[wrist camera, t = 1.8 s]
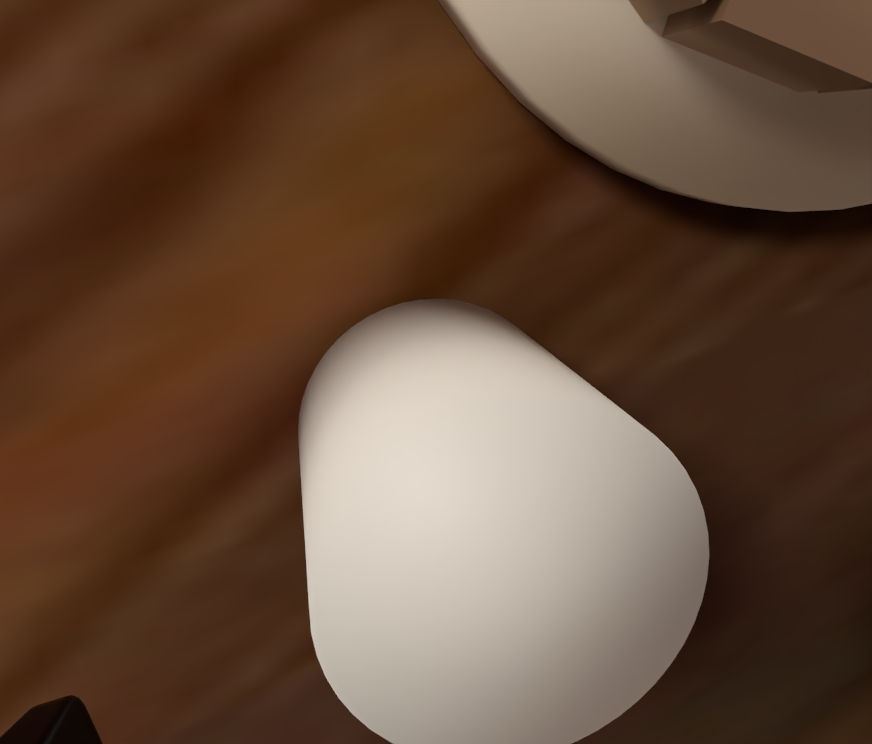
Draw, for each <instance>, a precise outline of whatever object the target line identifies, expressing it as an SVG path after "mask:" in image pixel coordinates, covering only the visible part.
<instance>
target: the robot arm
mask: <svg viewBox="0 0 872 744" xmlns="http://www.w3.org/2000/svg"><path fill="white" fill-rule="evenodd" d="M0 744H102V741H101V739H100V737H99V735H98V733H97V731H96V728H95V726H94V724H93V722H92V720H91V718H90V715H89V713H88V711H87V709H86V707H85V705H84V703H83V702H82V701H81V700H80V699H79V698H78V697H75V696H72V695H70V696H66V697H63V698H59V699H56V700H53V701H49V702H46V703H43V704H40V705H37V706H35V707H33V708H31V709H30V710H29V711H28V712H27V713H26V714H25V715H23V716H22V717H21V718H20V719H19V720H18V721H17V722H16V723H15V724H14V725H13V726H12V727H11V728H10V729H9V730H8V731H7V732H5V733H4V734H3V735H2V736H1V737H0Z"/></svg>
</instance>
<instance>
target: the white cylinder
mask: <svg viewBox="0 0 872 744" xmlns="http://www.w3.org/2000/svg"><path fill="white" fill-rule="evenodd" d="M298 439H299V455H300V471H301V487H302V503H303V518H304V534H305V550H306V566H307V582H308V598H309V612H310V624H311V634H312V638H313V642H314V646H315V651H316V655H317V658H318V660H319V662H320V665H321V667H322V670H323V672H324V674H325V677H326V679H327V680H328V682H329V684H330V685H331V687H332V688H333V690H334V692H335V693H336V695H337V696H338V698H339V699H340V700H341V701H342V702H343V704H344V705H345V706H346V707H347V708H348V709H349V711H350V712H351V713H352V714H353V715H354V716H355V717H356V718H357V719H359V720H360V721H361V722H362V723H363V724H364V725H366V726H367V727H368V728H369V729H370V730H372V731H373V732H375V733H377V734H378V735H380V736H381V737H383V738H385V739H386V740H388V741H389V742H391V743H393V744H571V743H574V742H576V741H578V740H580V739H582V738H584V737H586V736H588V735H590V734H592V733H594V732H596V731H597V730H599V729H601V728H602V727H604V726H605V725H607V724H608V723H610V722H611V721H613V720H614V719H616V718H617V717H619V716H620V715H621V714H623V713H624V712H625V711H626V710H628V709H629V708H630V707H631V706H632V705H634V704H635V703H636V702H637V701H638V700H639V699H640V698H641V697H642V696H643V695H644V694H645V693H646V692H647V691H649V690H650V689H651V688H652V687H653V686H654V685H655V683H656V682H657V681H658V680H659V679H660V677H661V676H662V675H663V674H664V672H665V671H666V670H667V669H668V667H669V666H670V665H671V663H672V662H673V660H674V659H675V657H676V656H677V654H678V653H679V651H680V650H681V648H682V646H683V645H684V643H685V641H686V639H687V637H688V635H689V633H690V631H691V629H692V627H693V625H694V623H695V620H696V617H697V614H698V612H699V609H700V606H701V603H702V600H703V595H704V591H705V586H706V582H707V575H708V564H709V540H708V530H707V525H706V519H705V514H704V510H703V507H702V504H701V502H700V499H699V496H698V493H697V490H696V488H695V486H694V485H693V483H692V481H691V479H690V477H689V475H688V473H687V472H686V470H685V468H684V467H683V466H682V464H681V463H680V462H679V461H678V459H677V458H676V457H675V455H674V454H673V453H672V451H671V450H670V449H668V448H667V447H666V446H665V445H664V444H663V443H662V442H661V441H660V440H659V439H658V438H657V437H656V436H655V435H654V434H652V433H651V432H650V431H649V430H647V429H646V428H645V427H644V426H642V425H641V424H640V423H638V422H637V421H636V420H635V419H633V418H632V417H631V416H630V415H628V414H627V413H626V412H624V411H623V410H622V409H621V408H619V407H618V406H617V405H616V404H614V403H613V402H612V401H610V400H609V399H608V398H607V397H605V396H604V395H603V394H602V393H600V392H599V391H598V390H596V389H595V388H594V387H593V386H591V385H590V384H589V383H587V382H586V381H585V380H584V379H582V378H581V377H580V376H579V375H577V374H576V373H575V372H573V371H572V370H571V369H570V368H568V367H567V366H566V365H565V364H563V363H562V362H561V361H559V360H558V359H557V358H556V357H554V356H553V355H552V354H551V353H549V352H548V351H547V350H545V349H544V348H543V347H542V346H540V345H539V344H538V343H536V342H535V341H534V340H533V339H531V338H530V337H529V336H528V335H526V334H525V333H524V332H522V331H521V330H520V329H519V328H517V327H516V326H515V325H513V324H512V323H511V322H509V321H508V320H506V319H505V318H503V317H502V316H500V315H498V314H496V313H494V312H492V311H490V310H488V309H486V308H483V307H480V306H478V305H475V304H472V303H468V302H463V301H458V300H450V299H422V300H415V301H410V302H405V303H400V304H397V305H394V306H391V307H388V308H385V309H383V310H381V311H379V312H377V313H374V314H372V315H370V316H368V317H367V318H365V319H364V320H362V321H360V322H359V323H357V324H356V325H354V326H353V327H351V328H350V329H349V330H348V331H347V332H346V333H344V334H343V335H342V336H341V337H340V338H339V339H338V340H337V341H336V342H335V343H334V344H333V345H332V346H331V347H330V348H329V350H328V351H327V352H326V353H325V355H324V356H323V358H322V359H321V360H320V362H319V363H318V365H317V366H316V368H315V370H314V372H313V374H312V376H311V378H310V380H309V382H308V384H307V387H306V390H305V393H304V396H303V398H302V403H301V408H300V413H299V425H298Z"/></svg>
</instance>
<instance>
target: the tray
mask: <svg viewBox="0 0 872 744" xmlns="http://www.w3.org/2000/svg"><path fill="white" fill-rule="evenodd" d="M438 1H439V2H440V4H441V5H442V7H443V8H444V10H445V11H446V12H447V14H448V15H449V17H450V18H451V20H452V21H453V22H454V24H455V25H456V27H457V28H458V29H459V31H460V32H461V34H462V35H463V37H464V38H465V39H466V41H467V42H468V44H469V45H470V47H471V48H472V49H473V51H474V52H475V54H476V55H477V57H478V58H479V59H480V60H481V61H482V62H483V63H484V64H485V65H486V66H487V67H488V69H489V70H490V71H491V72H492V73H493V74H494V75H495V76H496V77H497V78H498V79H499V81H500V82H501V83H502V84H503V85H504V86H505V87H506V88H507V89H508V90H509V91H510V93H511V94H512V95H513V96H514V97H515V98H516V99H517V100H518V101H519V102H520V103H521V104H522V105H523V106H524V107H526V108H527V109H528V110H529V111H530V112H532V113H533V114H534V115H535V116H536V117H538V118H539V119H540V120H541V121H542V122H544V123H545V124H546V125H547V126H548V127H550V128H551V129H552V130H553V131H554V132H556V133H557V134H558V135H559V136H560V137H562V138H563V139H564V140H565V141H567V142H569V143H570V144H572V145H574V146H575V147H577V148H578V149H580V150H582V151H583V152H585V153H587V154H588V155H590V156H591V157H593V158H595V159H596V160H598V161H600V162H601V163H603V164H604V165H606V166H608V167H609V168H611V169H613V170H615V171H618V172H620V173H622V174H625V175H627V176H629V177H632V178H634V179H636V180H639V181H641V182H643V183H646V184H648V185H650V186H652V187H655V188H657V189H659V190H663V191H667V192H671V193H674V194H678V195H682V196H686V197H690V198H694V199H697V200H701V201H705V202H709V203H716V204H723V205H729V206H736V207H746V208H756V209H765V210H775V211H784V212H798V211H820V210H841V209H846V208H851V207H856V206H862V205H867V204H872V0H438Z"/></svg>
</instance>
